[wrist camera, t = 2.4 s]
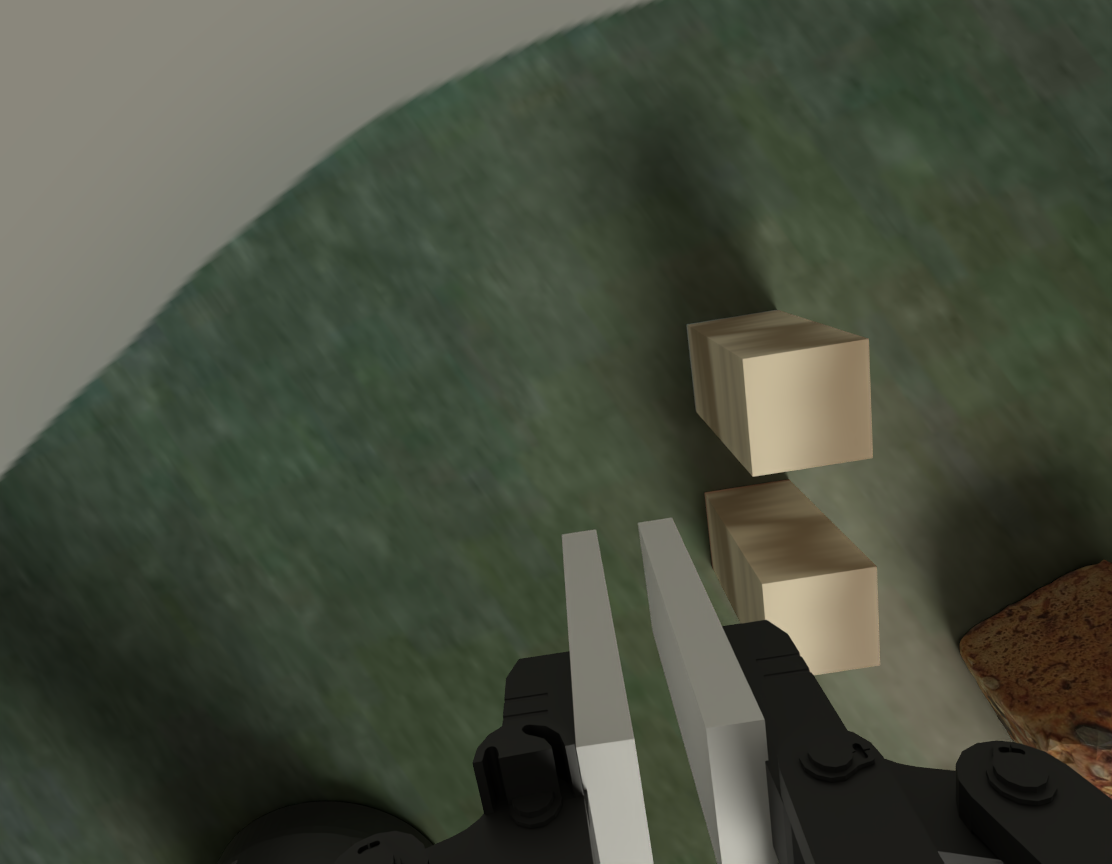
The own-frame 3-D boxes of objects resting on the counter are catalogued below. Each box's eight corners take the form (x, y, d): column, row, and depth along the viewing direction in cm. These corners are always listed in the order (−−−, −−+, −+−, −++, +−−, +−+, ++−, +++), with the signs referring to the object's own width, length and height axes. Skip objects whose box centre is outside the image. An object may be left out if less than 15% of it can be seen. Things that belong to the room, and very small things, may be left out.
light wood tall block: (712, 568, 38) (770, 681, 28) (704, 492, 37) (762, 584, 27) (794, 555, 38) (880, 665, 28) (788, 479, 37) (876, 566, 27)
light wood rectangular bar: (695, 411, 36) (752, 476, 26) (686, 324, 34) (742, 359, 25) (783, 397, 35) (872, 458, 26) (776, 309, 34) (868, 338, 25)
